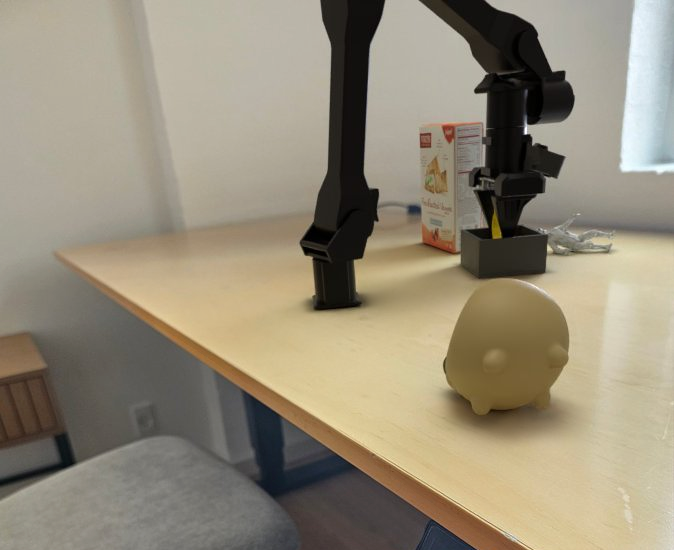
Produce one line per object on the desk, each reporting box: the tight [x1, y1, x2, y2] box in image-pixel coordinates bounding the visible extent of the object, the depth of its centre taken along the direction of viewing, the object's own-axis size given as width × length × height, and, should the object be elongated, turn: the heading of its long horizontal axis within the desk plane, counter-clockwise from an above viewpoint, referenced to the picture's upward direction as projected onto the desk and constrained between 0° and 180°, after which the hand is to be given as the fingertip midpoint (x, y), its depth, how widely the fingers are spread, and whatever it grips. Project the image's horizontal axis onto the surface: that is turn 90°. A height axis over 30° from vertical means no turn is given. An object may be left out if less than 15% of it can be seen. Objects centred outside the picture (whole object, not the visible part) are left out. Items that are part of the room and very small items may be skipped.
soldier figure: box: [537, 212, 616, 255], centre depth 110 cm, size 8×5×12 cm
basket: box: [460, 223, 548, 280], centre depth 102 cm, size 11×10×6 cm
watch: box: [492, 210, 502, 239], centre depth 100 cm, size 6×3×6 cm, turn 7°
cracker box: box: [419, 121, 485, 254], centre depth 118 cm, size 14×6×21 cm, turn 17°
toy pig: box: [442, 277, 570, 416], centre depth 54 cm, size 10×12×11 cm
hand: (501, 240), depth 101 cm, fingers closed on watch, 6 cm apart
